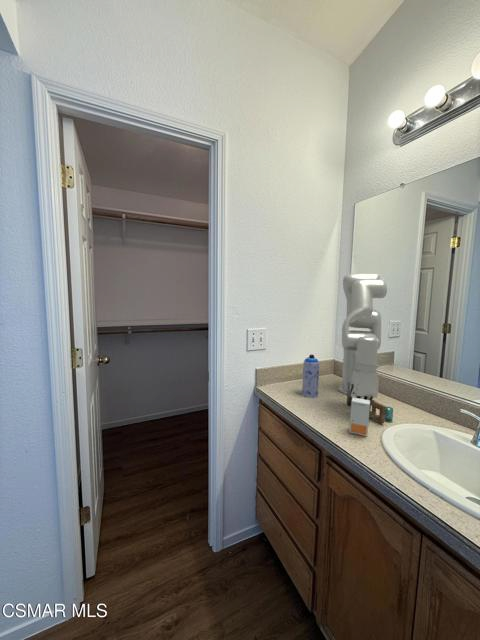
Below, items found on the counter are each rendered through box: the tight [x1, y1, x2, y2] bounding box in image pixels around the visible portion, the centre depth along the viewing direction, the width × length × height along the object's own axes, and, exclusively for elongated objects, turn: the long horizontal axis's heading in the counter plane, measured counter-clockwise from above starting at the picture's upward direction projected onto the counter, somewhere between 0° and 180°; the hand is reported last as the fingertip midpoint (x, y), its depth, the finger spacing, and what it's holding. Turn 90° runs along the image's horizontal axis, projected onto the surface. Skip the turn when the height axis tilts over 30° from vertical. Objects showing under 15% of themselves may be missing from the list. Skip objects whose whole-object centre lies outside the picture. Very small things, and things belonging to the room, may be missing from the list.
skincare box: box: [348, 398, 371, 437], centre depth 99 cm, size 6×4×12 cm
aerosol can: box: [301, 354, 320, 399], centre depth 135 cm, size 8×8×20 cm
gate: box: [351, 397, 387, 424], centre depth 114 cm, size 18×1×7 cm, turn 16°
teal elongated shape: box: [346, 383, 394, 423], centre depth 116 cm, size 3×20×10 cm, turn 33°
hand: (362, 411), depth 111 cm, fingers closed
